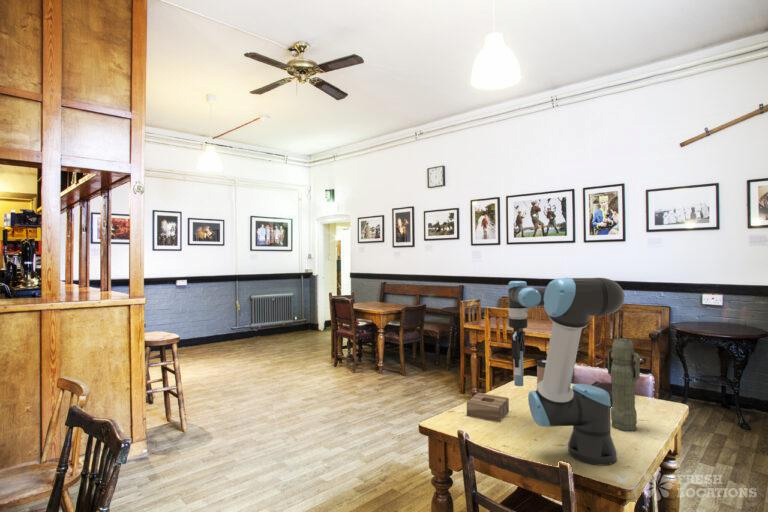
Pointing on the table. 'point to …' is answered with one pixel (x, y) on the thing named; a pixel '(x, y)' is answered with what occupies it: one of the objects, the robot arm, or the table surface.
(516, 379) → the dowel pin
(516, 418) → the table surface
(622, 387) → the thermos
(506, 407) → the bore block
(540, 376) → the travel mug
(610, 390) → the diary
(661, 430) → the table surface
